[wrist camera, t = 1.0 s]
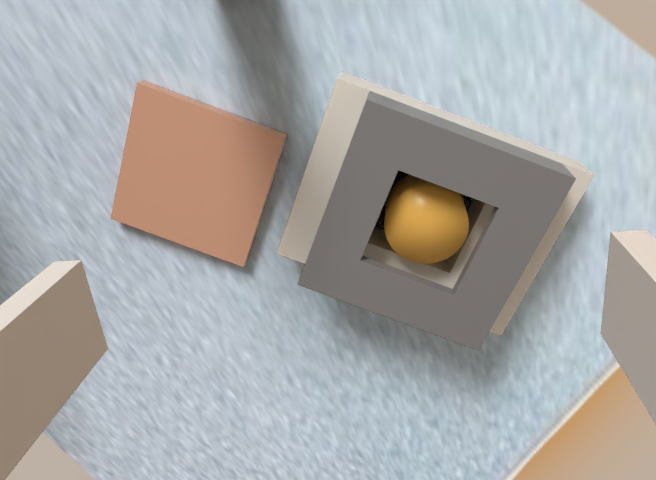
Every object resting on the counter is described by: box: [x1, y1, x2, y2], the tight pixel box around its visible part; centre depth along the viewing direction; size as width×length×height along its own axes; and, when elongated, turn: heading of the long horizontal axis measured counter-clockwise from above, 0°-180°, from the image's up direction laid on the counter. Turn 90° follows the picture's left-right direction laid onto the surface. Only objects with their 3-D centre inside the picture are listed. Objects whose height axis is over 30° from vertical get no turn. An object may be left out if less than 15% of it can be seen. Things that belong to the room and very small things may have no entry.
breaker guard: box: [277, 72, 594, 351], centre depth 36 cm, size 16×12×6 cm
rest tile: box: [111, 81, 288, 267], centre depth 39 cm, size 10×10×1 cm
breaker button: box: [384, 175, 469, 264], centre depth 36 cm, size 5×5×3 cm
